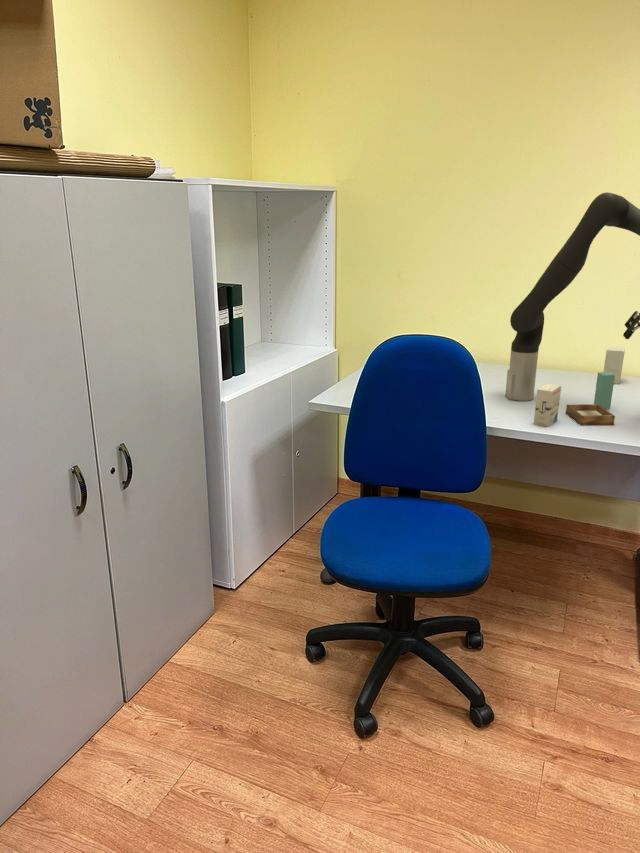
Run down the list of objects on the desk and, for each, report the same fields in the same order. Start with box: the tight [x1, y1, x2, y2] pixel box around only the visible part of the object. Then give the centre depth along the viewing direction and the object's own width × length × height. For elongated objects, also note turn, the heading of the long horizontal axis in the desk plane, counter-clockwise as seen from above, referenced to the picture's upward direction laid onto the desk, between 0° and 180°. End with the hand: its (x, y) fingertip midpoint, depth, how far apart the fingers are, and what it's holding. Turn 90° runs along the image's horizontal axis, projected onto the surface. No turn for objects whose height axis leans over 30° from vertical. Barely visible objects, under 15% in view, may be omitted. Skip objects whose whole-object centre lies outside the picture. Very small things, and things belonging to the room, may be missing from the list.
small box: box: [602, 345, 625, 385], centre depth 250 cm, size 8×6×13 cm
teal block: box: [593, 371, 615, 411], centre depth 217 cm, size 4×4×12 cm
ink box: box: [533, 383, 562, 427], centre depth 203 cm, size 9×5×12 cm, turn 141°
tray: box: [565, 403, 616, 426], centre depth 207 cm, size 11×13×3 cm
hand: (636, 335), depth 202 cm, fingers open, 8 cm apart
